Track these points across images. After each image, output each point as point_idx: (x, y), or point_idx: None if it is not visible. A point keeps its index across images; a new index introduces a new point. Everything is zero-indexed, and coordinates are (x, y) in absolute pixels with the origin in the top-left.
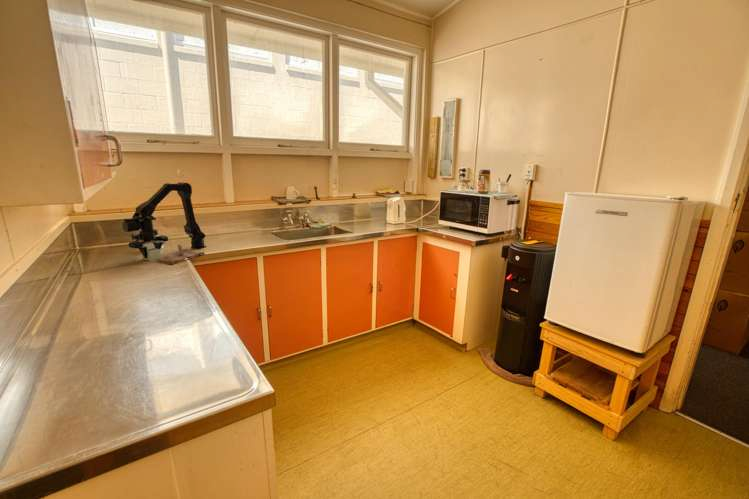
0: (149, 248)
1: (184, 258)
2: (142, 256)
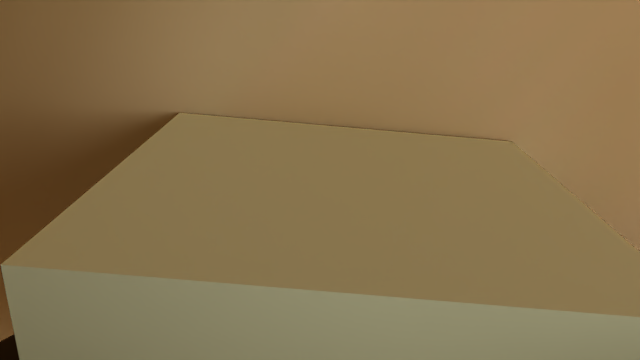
0: (542, 315)
1: None
2: (146, 145)
